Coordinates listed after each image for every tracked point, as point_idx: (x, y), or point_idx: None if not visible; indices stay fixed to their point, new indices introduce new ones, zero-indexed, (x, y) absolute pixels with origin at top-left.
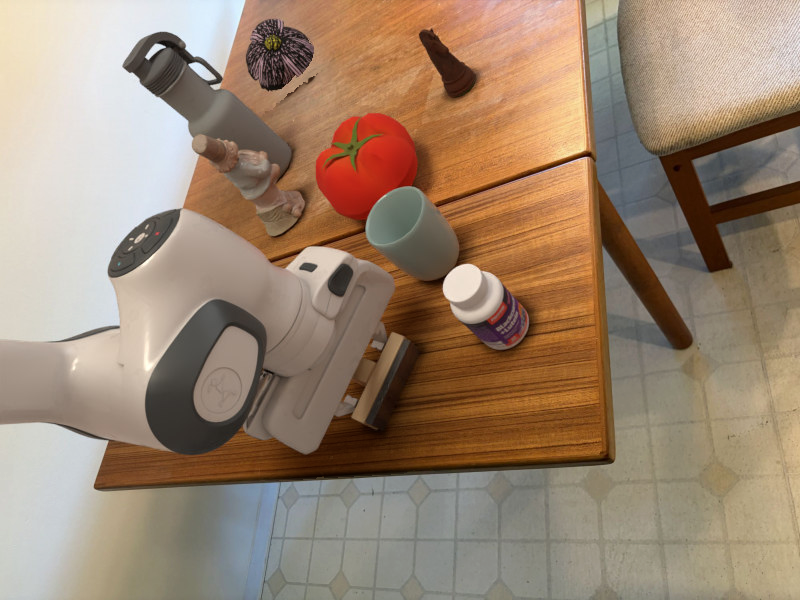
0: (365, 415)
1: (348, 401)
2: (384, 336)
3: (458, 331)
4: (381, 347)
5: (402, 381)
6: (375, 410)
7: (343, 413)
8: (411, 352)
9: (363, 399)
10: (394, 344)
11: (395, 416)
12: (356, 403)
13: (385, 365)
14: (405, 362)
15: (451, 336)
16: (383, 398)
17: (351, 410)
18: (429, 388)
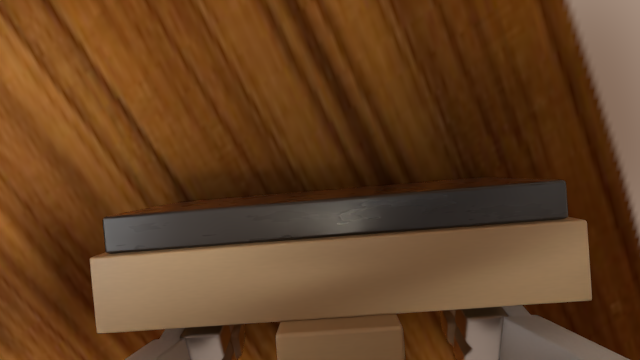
0: (545, 232)
1: (490, 355)
2: (145, 357)
3: (39, 93)
4: (208, 341)
5: (300, 193)
6: (491, 200)
7: (597, 350)
8: (174, 206)
9: (476, 287)
10: (147, 285)
11: (420, 163)
12: (486, 315)
13: (265, 271)
14: (220, 203)
15: (70, 111)
16: (418, 193)
17: (531, 319)
18: (276, 87)
